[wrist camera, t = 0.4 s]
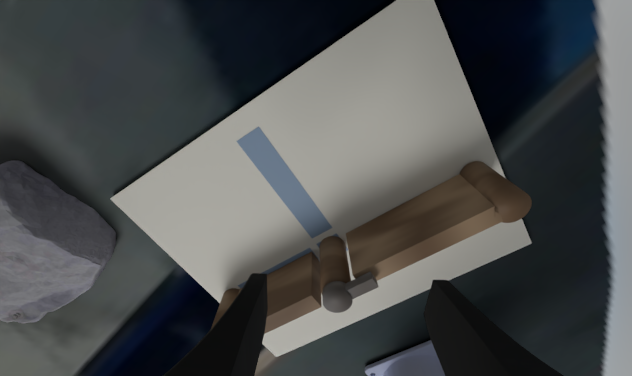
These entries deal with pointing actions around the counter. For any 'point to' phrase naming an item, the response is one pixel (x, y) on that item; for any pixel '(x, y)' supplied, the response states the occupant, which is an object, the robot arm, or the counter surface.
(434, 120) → the board
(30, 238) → the stone block
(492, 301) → the counter surface
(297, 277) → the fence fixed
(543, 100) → the counter surface
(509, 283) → the counter surface
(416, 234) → the swing rail
